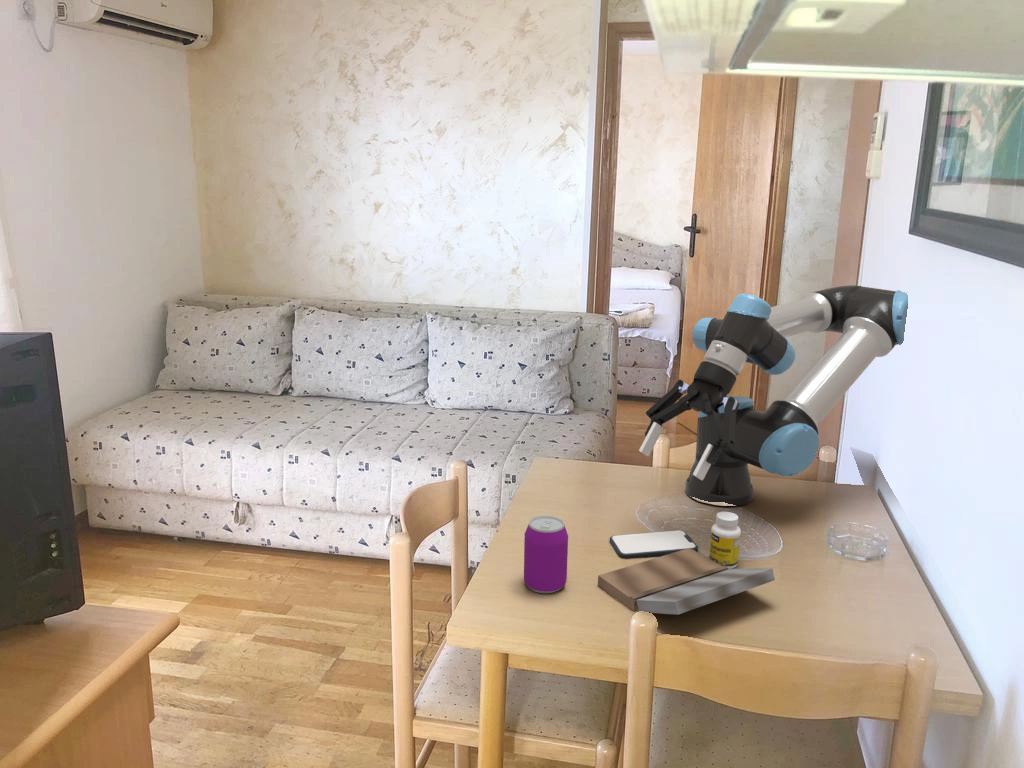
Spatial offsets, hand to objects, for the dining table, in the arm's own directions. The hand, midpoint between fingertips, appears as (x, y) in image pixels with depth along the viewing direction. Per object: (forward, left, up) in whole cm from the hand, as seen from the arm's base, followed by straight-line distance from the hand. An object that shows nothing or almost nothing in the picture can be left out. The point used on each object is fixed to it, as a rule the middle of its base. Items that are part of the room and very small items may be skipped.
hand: (669, 465), depth 154 cm
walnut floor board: (+10, +11, -17) cm, 22 cm away
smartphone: (+2, -1, -18) cm, 18 cm away
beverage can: (+29, +1, -17) cm, 34 cm away
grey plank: (+10, +22, -15) cm, 28 cm away
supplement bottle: (-5, +11, -17) cm, 21 cm away
